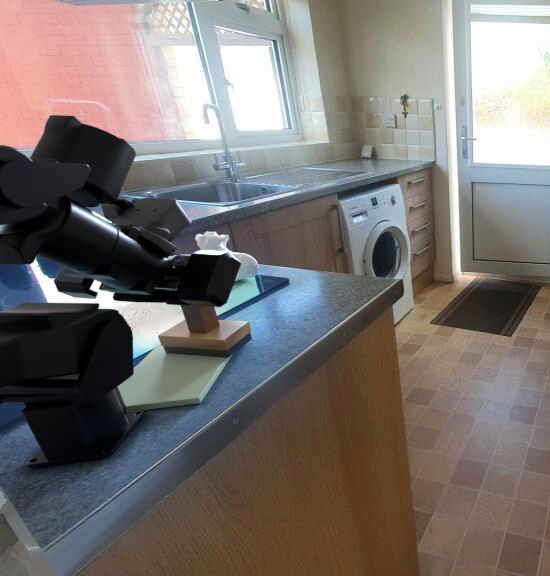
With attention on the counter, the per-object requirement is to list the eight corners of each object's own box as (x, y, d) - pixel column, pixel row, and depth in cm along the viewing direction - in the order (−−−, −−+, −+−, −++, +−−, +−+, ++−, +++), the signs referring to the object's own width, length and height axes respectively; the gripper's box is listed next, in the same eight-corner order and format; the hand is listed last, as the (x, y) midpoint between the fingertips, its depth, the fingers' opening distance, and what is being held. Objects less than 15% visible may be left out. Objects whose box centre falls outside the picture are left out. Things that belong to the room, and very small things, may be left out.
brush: (228, 358, 54) (201, 266, 48) (164, 353, 54) (129, 262, 49) (253, 338, 58) (230, 252, 53) (193, 334, 59) (165, 249, 53)
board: (200, 403, 47) (198, 397, 46) (93, 416, 44) (90, 410, 44) (240, 342, 59) (239, 337, 59) (159, 349, 57) (157, 344, 56)
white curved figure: (197, 290, 80) (157, 259, 70) (212, 258, 84) (175, 224, 74) (260, 292, 81) (228, 261, 71) (271, 260, 84) (242, 226, 75)
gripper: (208, 181, 43) (287, 250, 57) (42, 172, 44) (161, 243, 58) (165, 278, 38) (263, 326, 53) (-18, 266, 39) (127, 317, 54)
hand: (203, 300), depth 55 cm, fingers closed on brush, 2 cm apart
